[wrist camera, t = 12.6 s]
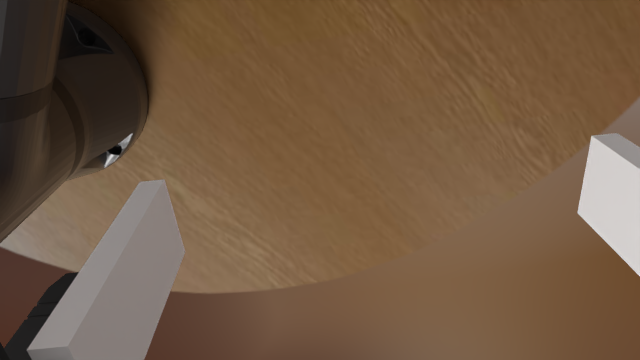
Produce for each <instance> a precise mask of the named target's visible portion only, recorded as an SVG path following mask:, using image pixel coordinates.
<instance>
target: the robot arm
mask: <svg viewBox="0 0 640 360" xmlns="http://www.w3.org/2000/svg"><path fill="white" fill-rule="evenodd" d="M147 110H148V95H147V88H146V83H145V79H144V76H143V73H142V70H141V68H140V65H139V63H138V61H137V59H136V57H135V56H134V54H133V52H132V51H131V49H130V48H129V46H128V45H127V44H126V42H125V41H124V40H123V39H122V37H121V36H120V35H119V34H118V33H117V32H116V31H115V30H114V29H113V28H112V27H111V26H110V25H109V24H107V23H106V22H105V21H104V20H102V19H101V18H100V17H98V16H97V15H95V14H94V13H92V12H90V11H89V10H87V9H85V8H83V7H81V6H79V5H77V4H74V3H71V2H69V1H68V0H0V243H1V242H2V241H3V240H4V239H5V238H6V237H7V236H8V235H9V234H11V233H12V232H13V231H14V230H15V229H16V228H17V227H18V226H19V225H20V224H21V223H22V222H23V221H24V220H25V219H26V218H27V217H28V216H29V215H30V214H31V213H32V212H33V211H35V210H36V209H37V208H38V207H39V206H40V205H41V204H42V203H43V202H44V201H45V200H46V199H47V198H48V197H49V196H50V195H51V194H52V193H53V192H54V191H55V190H56V189H57V188H58V187H60V185H61V184H62V183H63V182H65V181H67V180H71V179H74V178H78V177H81V176H85V175H88V174H92V173H95V172H98V171H100V170H103V169H105V168H106V167H108V166H110V165H112V164H113V163H114V162H116V161H117V160H118V159H120V158H121V157H122V156H123V155H124V154H125V153H126V152H127V151H128V150H129V148H130V147H131V146H132V145H133V144H134V143H135V141H136V140H137V139H138V137H139V135H140V133H141V131H142V129H143V127H144V124H145V121H146V117H147ZM578 214H579V215H580V216H581V217H582V218H583V219H584V220H585V221H586V222H587V223H588V224H589V225H590V226H591V227H592V228H593V229H594V230H595V231H596V232H597V233H598V234H599V235H600V236H601V237H602V238H603V239H604V240H605V241H606V242H607V243H608V244H609V245H610V246H611V247H612V248H613V249H614V250H615V251H616V252H617V253H618V254H619V255H620V257H621V258H622V259H623V260H624V261H625V262H626V263H627V264H628V265H629V266H630V267H631V268H632V269H633V270H634V271H635V272H636V273H637V274H638V275H639V276H640V147H638V146H637V145H635V144H633V143H632V142H630V141H629V140H627V139H626V138H624V137H622V136H621V135H619V134H618V133H614V134H605V135H595V136H592V137H591V142H590V148H589V154H588V159H587V164H586V170H585V175H584V181H583V186H582V191H581V197H580V202H579V208H578ZM184 253H185V249H184V246H183V243H182V239H181V236H180V232H179V229H178V225H177V222H176V218H175V215H174V211H173V208H172V204H171V201H170V197H169V194H168V190H167V187H166V183H165V180H154V181H144V182H140V183H139V184H138V186H137V187H136V189H135V190H134V192H133V193H132V194H131V196H130V197H129V199H128V200H127V202H126V203H125V205H124V206H123V208H122V209H121V211H120V212H119V214H118V215H117V217H116V218H115V220H114V221H113V223H112V224H111V226H110V227H109V229H108V230H107V232H106V233H105V235H104V236H103V238H102V239H101V240H100V242H99V243H98V245H97V246H96V248H95V249H94V251H93V252H92V254H91V255H90V257H89V258H88V260H87V261H86V263H85V264H84V266H83V267H82V269H81V270H80V272H77V273H68V274H65V275H64V276H62V277H61V278H60V279H59V280H58V281H56V282H55V283H54V284H53V285H51V286H50V287H49V288H48V289H47V290H46V292H45V293H44V295H43V296H42V297H41V299H40V300H39V301H38V303H37V306H36V307H34V308H33V310H32V311H31V312H30V314H29V315H28V316H27V317H28V319H27V320H24V322H23V323H22V325H21V326H20V327H19V329H18V330H17V331H16V333H15V334H14V335H13V337H12V338H11V340H10V341H9V342H8V344H7V345H6V346H5V348H3V346H2V345H1V343H0V360H144V358H145V356H146V353H147V350H148V348H149V345H150V342H151V340H152V337H153V335H154V332H155V329H156V327H157V324H158V321H159V319H160V316H161V314H162V311H163V308H164V306H165V303H166V300H167V298H168V295H169V293H170V290H171V287H172V285H173V282H174V280H175V277H176V274H177V272H178V269H179V266H180V264H181V261H182V259H183V256H184Z"/></svg>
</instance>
